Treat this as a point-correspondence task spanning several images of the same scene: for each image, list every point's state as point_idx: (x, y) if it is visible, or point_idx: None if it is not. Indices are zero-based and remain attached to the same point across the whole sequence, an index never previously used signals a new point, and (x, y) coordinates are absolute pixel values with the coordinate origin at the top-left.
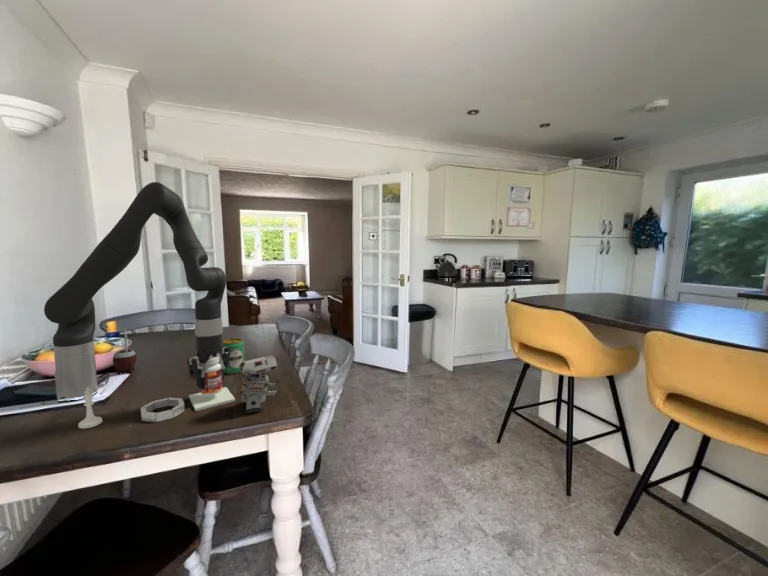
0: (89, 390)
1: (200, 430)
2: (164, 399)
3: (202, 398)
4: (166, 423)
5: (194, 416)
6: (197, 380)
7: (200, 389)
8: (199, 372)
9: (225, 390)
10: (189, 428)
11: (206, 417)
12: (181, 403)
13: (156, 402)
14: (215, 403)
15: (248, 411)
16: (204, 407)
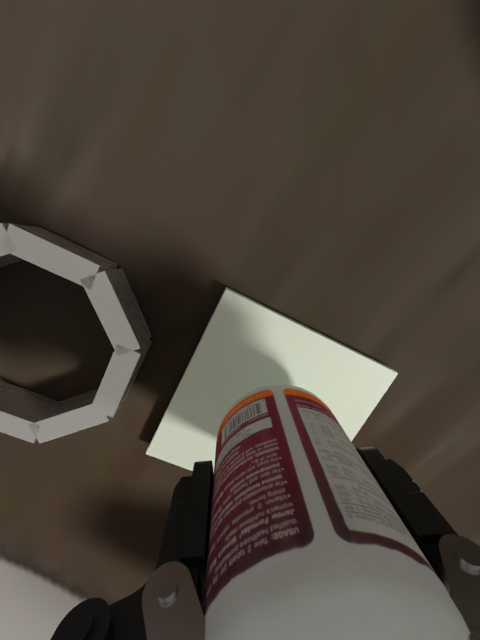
0: None
1: (75, 571)
2: (69, 266)
3: (234, 390)
4: (15, 439)
5: (120, 477)
6: (164, 548)
7: (222, 430)
8: (190, 624)
9: (359, 406)
10: (57, 536)
11: (143, 518)
12: (104, 404)
13: (21, 257)
14: None
15: None
16: (183, 463)
